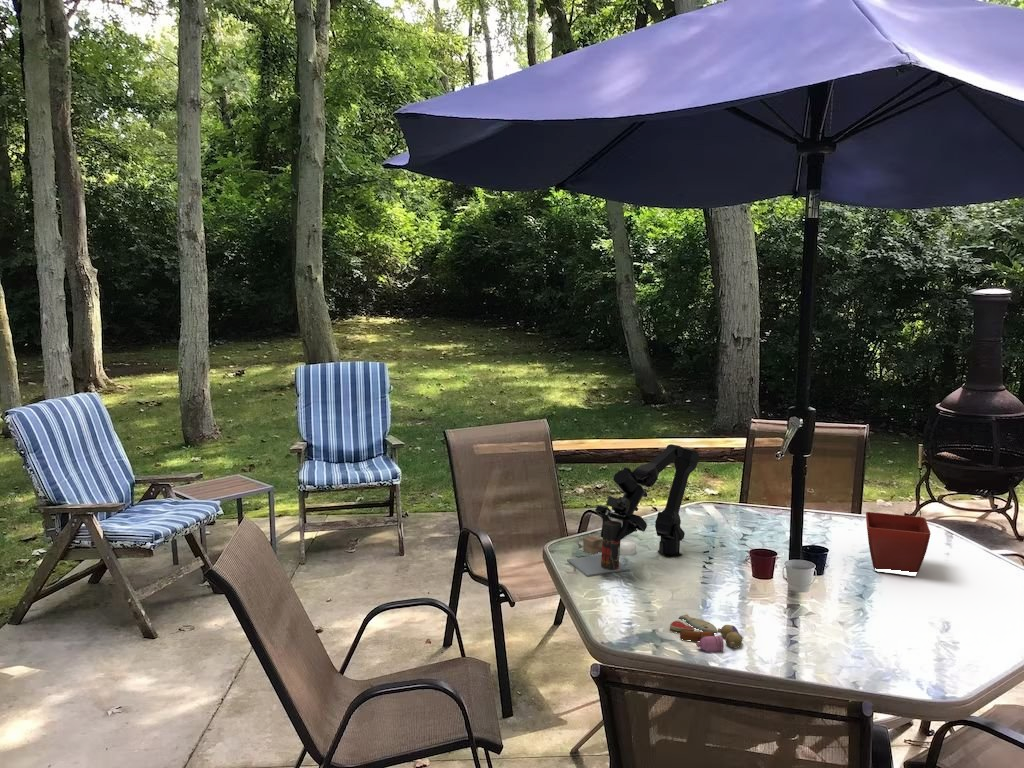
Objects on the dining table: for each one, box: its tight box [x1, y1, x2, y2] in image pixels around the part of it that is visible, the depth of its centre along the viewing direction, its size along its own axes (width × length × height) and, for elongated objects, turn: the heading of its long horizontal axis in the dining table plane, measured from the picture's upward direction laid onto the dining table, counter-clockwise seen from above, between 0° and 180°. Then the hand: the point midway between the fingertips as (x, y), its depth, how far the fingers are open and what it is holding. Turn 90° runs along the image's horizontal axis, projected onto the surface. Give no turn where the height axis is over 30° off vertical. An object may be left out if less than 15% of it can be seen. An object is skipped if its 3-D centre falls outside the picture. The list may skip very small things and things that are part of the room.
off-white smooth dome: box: [620, 538, 637, 556], centre depth 294 cm, size 7×7×4 cm
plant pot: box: [865, 511, 931, 573], centre depth 278 cm, size 19×19×17 cm
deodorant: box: [601, 521, 622, 570], centre depth 269 cm, size 6×6×15 cm
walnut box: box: [582, 534, 603, 555], centre depth 295 cm, size 5×5×5 cm
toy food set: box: [669, 614, 743, 652], centre depth 225 cm, size 26×16×4 cm, turn 42°
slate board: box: [567, 554, 630, 578], centre depth 280 cm, size 16×16×1 cm
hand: (608, 539), depth 268 cm, fingers open, 6 cm apart
